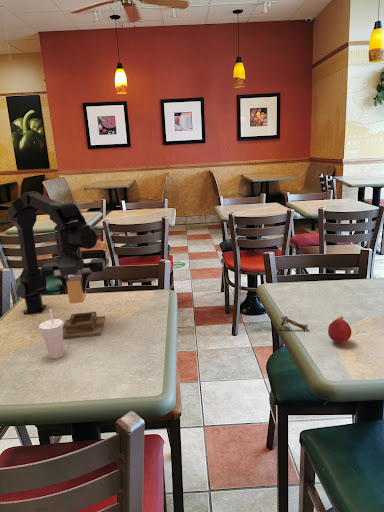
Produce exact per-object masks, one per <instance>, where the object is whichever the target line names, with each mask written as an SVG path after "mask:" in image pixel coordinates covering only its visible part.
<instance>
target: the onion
mask: <svg viewBox="0 0 384 512" xmlns="http://www.w3.org/2000/svg"><path fill="white" fill-rule="evenodd" d="M327 333H328V337H329V339H331V340H332V342H334V343H336V344H337V345H342V344H344V343H346V342H347V341H349V339H350V338H351V337H352V328H351V326H350V324H349V323H348V322H347V321H346V320H344V317H343V316H341V315H340V316H338V317H337V318H336V319H333V321H331V322H330V323H329V325H328V328H327Z"/></svg>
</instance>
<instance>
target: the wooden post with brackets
mask: <svg viewBox="0 0 384 512" xmlns="http://www.w3.org/2000/svg"><path fill="white" fill-rule="evenodd" d="M280 319H281V320H282V321H281V322H280V324H279V326H278V330H282V328H283V329H284V330H285V331H287V330H290V329H291V327H290V326H288V325H286V324H288V323H289V324H290V325H293V326H295V327H298V328H300V329H301V330H303V331H304V330H306V331H307V330H308V328H309V325H308V324H301V323H298V322H297V321H295V320H292V319H290V318H288V316H287V315H286V316H284V315H283V316H282V315H281V316H280ZM285 325H286V326H285Z"/></svg>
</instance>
